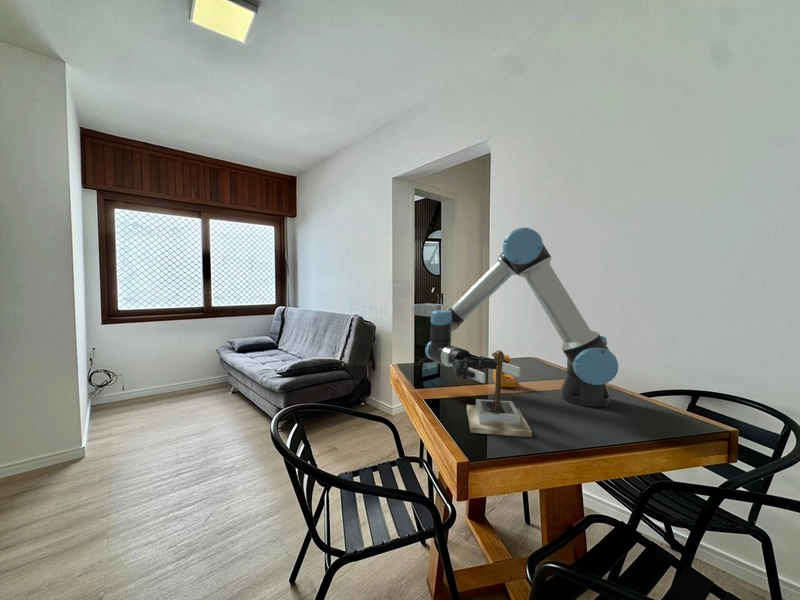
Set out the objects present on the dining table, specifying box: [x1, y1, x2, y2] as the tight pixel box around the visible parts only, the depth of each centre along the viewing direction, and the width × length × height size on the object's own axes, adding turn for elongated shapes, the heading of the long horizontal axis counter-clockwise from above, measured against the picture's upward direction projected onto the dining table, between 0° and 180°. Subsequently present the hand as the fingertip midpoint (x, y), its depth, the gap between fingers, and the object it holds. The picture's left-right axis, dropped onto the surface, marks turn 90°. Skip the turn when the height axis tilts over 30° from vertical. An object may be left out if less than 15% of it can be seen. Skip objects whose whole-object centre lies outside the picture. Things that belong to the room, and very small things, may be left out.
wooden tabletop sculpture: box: [490, 349, 505, 413], centre depth 95 cm, size 6×5×20 cm
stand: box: [466, 404, 533, 438], centre depth 95 cm, size 16×16×2 cm
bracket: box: [492, 354, 518, 388], centre depth 129 cm, size 11×7×12 cm, turn 176°
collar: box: [475, 398, 520, 427], centre depth 95 cm, size 11×11×3 cm
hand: (502, 375), depth 93 cm, fingers open, 13 cm apart
